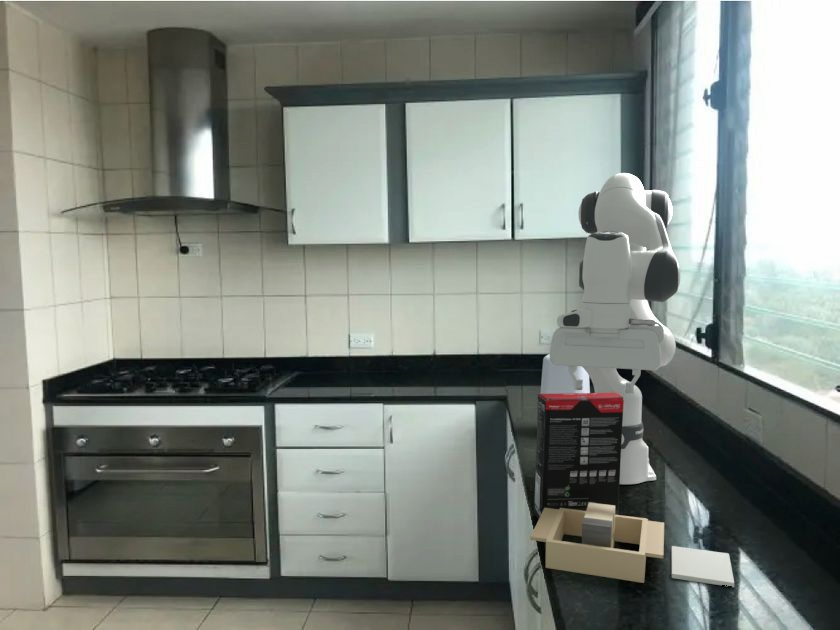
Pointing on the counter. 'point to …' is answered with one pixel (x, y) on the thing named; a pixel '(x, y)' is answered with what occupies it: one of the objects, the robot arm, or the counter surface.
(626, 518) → the carton
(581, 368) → the plastic bottle
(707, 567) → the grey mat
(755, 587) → the counter surface
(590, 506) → the block
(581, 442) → the graphics card box
